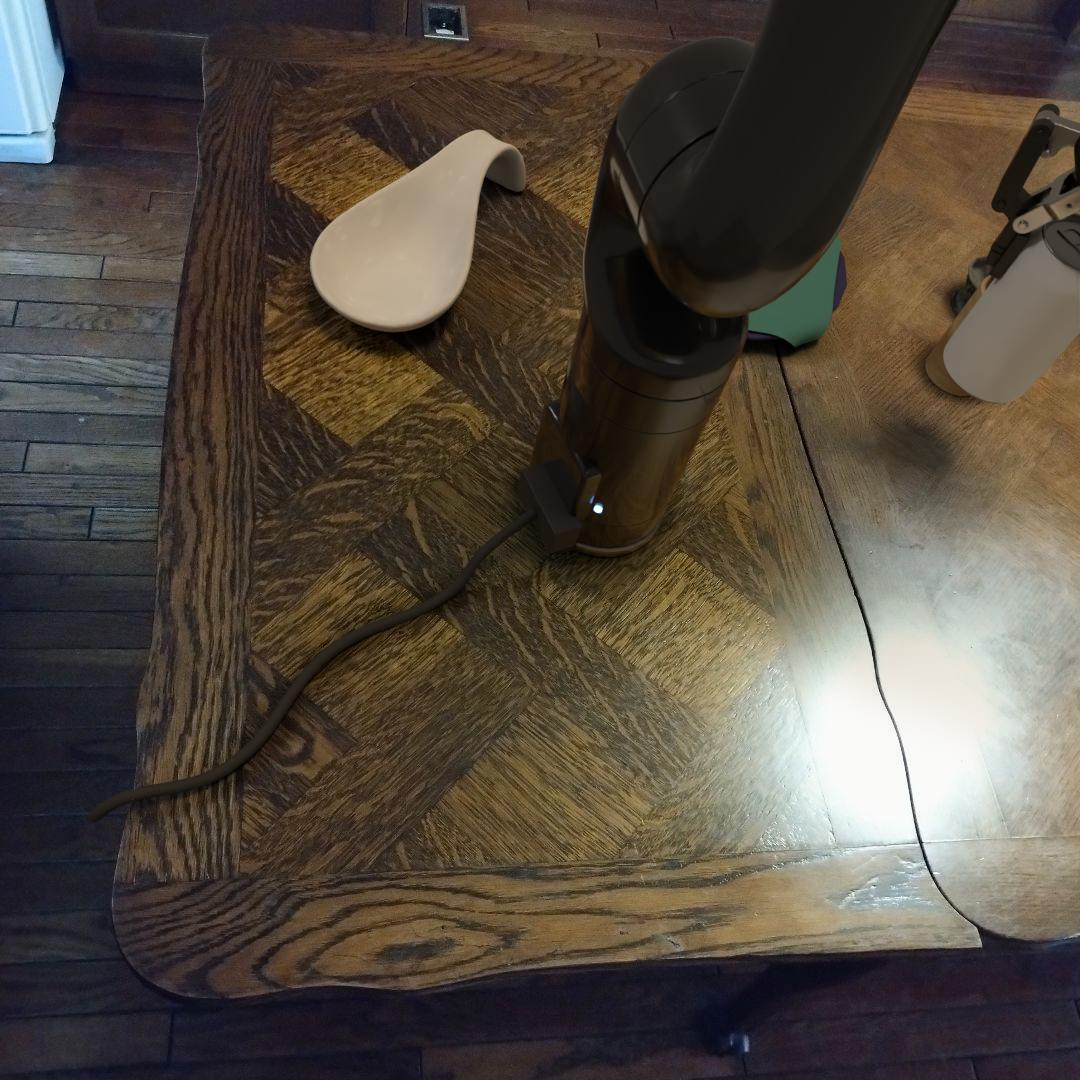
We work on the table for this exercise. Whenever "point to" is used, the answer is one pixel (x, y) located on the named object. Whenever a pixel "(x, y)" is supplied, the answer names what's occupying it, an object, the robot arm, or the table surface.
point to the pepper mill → (935, 358)
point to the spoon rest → (412, 237)
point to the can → (1021, 318)
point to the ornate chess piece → (971, 282)
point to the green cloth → (804, 303)
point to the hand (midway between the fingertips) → (1046, 293)
